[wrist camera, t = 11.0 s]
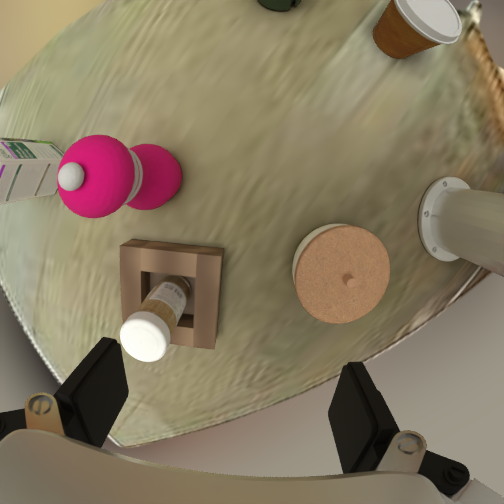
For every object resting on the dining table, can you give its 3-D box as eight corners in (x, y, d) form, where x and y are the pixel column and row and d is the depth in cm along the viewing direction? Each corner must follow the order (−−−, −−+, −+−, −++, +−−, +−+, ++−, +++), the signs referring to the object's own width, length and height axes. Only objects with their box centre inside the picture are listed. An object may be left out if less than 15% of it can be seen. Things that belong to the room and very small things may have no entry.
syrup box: (73, 160, 32) (0, 158, 18) (54, 196, 33) (-17, 209, 19) (50, 141, 31) (-20, 133, 17) (33, 176, 32) (-37, 181, 18)
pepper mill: (172, 215, 34) (92, 257, 15) (123, 193, 33) (14, 212, 14) (195, 161, 33) (134, 135, 13) (144, 140, 32) (46, 106, 12)
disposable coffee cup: (369, 6, 27) (403, -34, 16) (422, 38, 28) (465, 10, 17) (355, 46, 29) (393, 6, 18) (412, 80, 30) (462, 55, 19)
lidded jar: (294, 306, 37) (308, 343, 28) (276, 228, 35) (288, 244, 26) (368, 285, 37) (400, 314, 28) (357, 208, 35) (392, 218, 25)
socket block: (223, 248, 35) (221, 256, 31) (217, 333, 38) (214, 349, 34) (132, 238, 35) (119, 245, 31) (133, 322, 37) (124, 335, 34)
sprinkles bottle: (151, 285, 36) (109, 334, 23) (177, 265, 35) (141, 310, 22) (173, 311, 37) (142, 370, 24) (199, 293, 36) (176, 350, 23)
